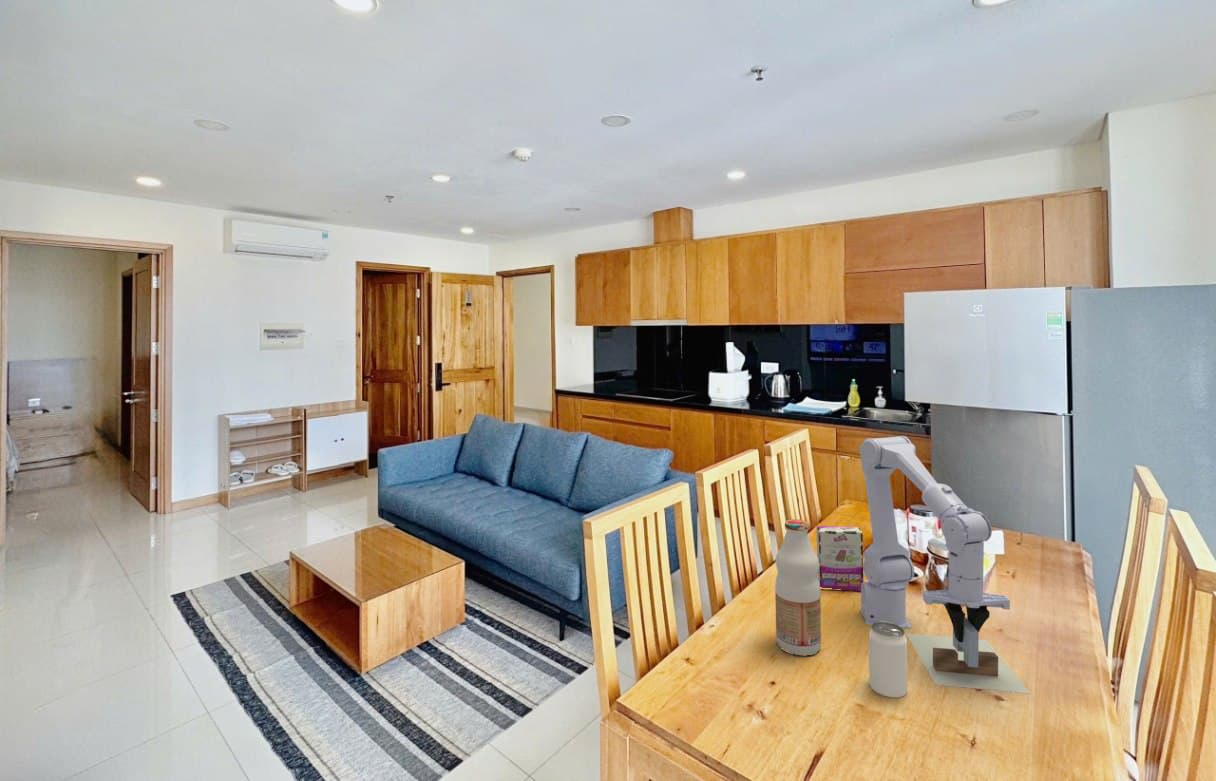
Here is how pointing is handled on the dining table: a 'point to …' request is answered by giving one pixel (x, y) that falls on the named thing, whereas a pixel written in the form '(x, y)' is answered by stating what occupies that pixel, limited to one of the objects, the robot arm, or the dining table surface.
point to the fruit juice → (798, 592)
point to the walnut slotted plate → (964, 663)
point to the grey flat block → (968, 644)
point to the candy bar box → (840, 557)
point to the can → (888, 659)
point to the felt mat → (925, 652)
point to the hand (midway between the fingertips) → (965, 640)
